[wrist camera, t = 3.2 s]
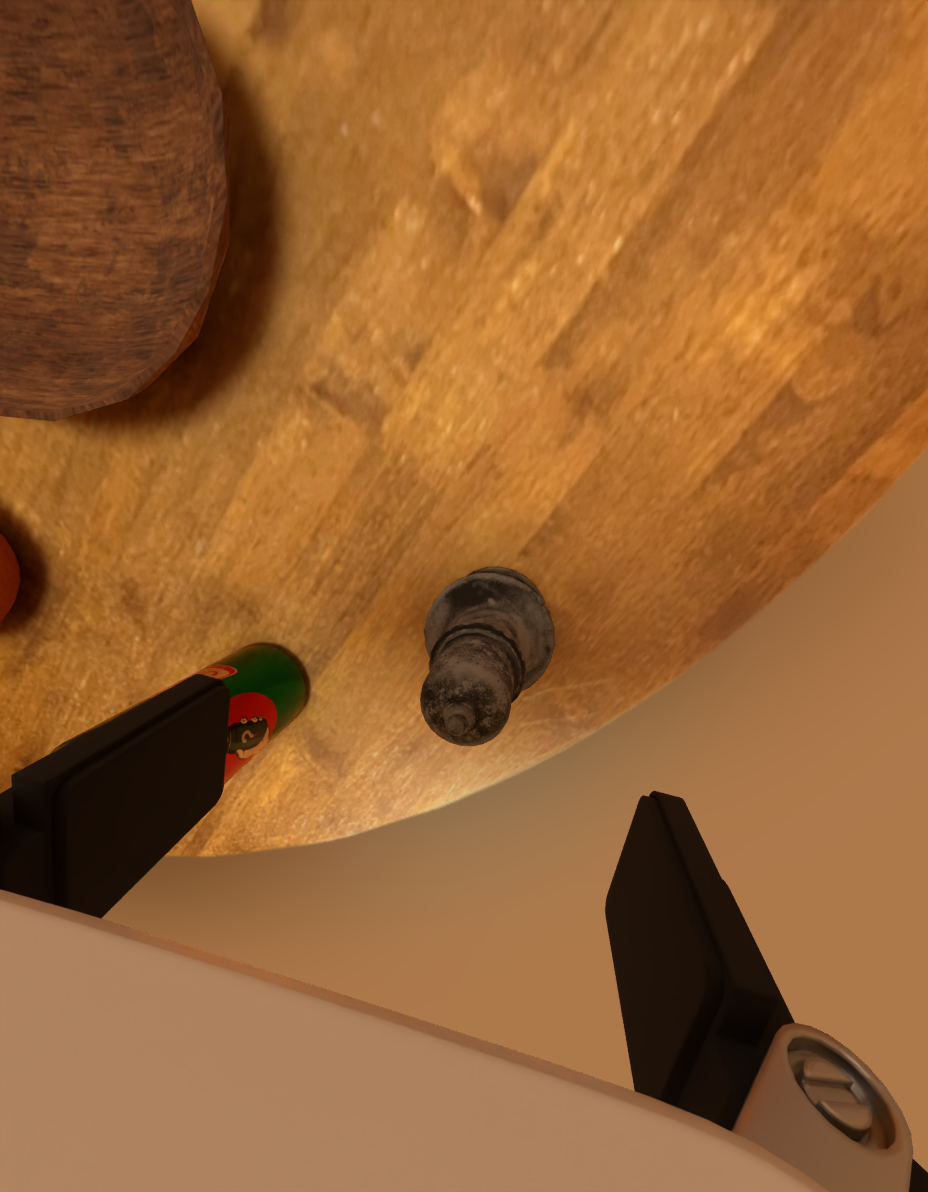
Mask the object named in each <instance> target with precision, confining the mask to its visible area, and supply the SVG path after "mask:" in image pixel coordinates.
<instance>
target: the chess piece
mask: <svg viewBox="0 0 928 1192" xmlns="http://www.w3.org/2000/svg"><path fill="white" fill-rule="evenodd" d="M424 635H425V646H426V649H427V652H428V655H429V658H430V660H429V670H430V672H429V674H428V676H427V677H426V679H425V681H424V683H423V685H422V691H421V697H420V702H421V711H422V713H423V716H424V719H425V721H426V722H427V724H428V725H429V727H430V728H431V729H432V730H433V731H434V732H435V733H436V734H437V735H438V736H439V737H441V738H443V739H444V740H446V741H448V742H450V743H453V744H457V745H460V746H476V745H481V744H484V743H486V742H488V741H490V740H492V739H493V738H495V737H496V736H497V735H498V734H499V733H500V732H501V730H502V729H503V727H504V726H505V724H506V722H507V720H508V718H509V714H510V709H511V703H513V702H514V701H515V700H516V699H517V698H518V696H519V694H520V692H522V691H523V690H525V689H527V688H529V687H531V686H532V685H533V684H534V683H535V682H536V681H537V680H538V679H539V678H540V677H541V676H542V675H543V673H544V672H545V670H546V668H547V667H548V665H549V663H550V661H551V658H552V654H553V650H554V646H555V634H554V625H553V622H552V619H551V616H550V612H549V610H548V609H547V607H546V606H545V602H544V599H543V596H542V595H541V593H540V592H539V590H538V589H537V587H536V585H535V584H533V583H532V582H531V581H530V580H529V579H528V578H527V577H526V576H524V575H522V574H520V573H518V572H516V571H514V570H512V569H507V568H503V567H486V568H483V569H480V570H476V571H473V572H472V573H470V574H469V575H467V576H466V577H463V578H460V579H458V580H457V581H455V582H453V583H452V584H450V585H449V586H447V587H446V588H445V589H444V590H443V591H442V592H441V593H440V594H439V595H438V597H437V598H436V599H435V600H434V602H433V604H432V606H431V608H430V610H429V612H428V614H427V618H426V623H425V629H424Z"/></svg>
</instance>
